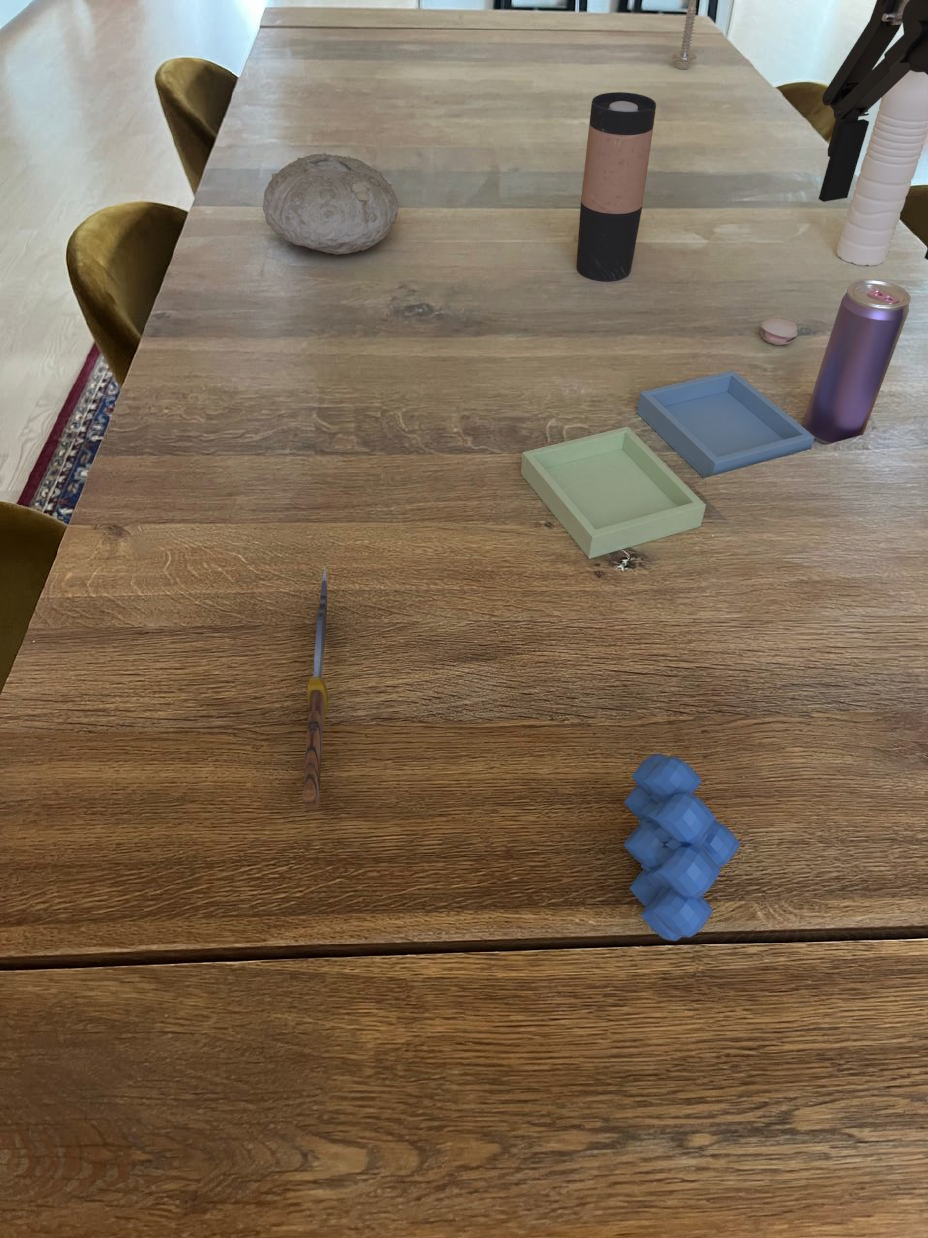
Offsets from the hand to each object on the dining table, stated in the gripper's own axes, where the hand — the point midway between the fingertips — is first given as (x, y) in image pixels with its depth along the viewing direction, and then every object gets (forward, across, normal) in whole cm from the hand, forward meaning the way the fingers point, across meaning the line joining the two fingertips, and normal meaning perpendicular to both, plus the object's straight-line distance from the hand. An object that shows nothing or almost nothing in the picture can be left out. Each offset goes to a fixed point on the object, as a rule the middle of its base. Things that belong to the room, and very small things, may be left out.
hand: (883, 226), depth 82 cm
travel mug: (+21, -41, -2) cm, 46 cm away
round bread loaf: (+21, -62, -32) cm, 73 cm away
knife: (+21, +15, -58) cm, 63 cm away
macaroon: (+21, -17, +8) cm, 28 cm away
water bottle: (+21, -31, +32) cm, 49 cm away
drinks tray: (+21, -3, -10) cm, 23 cm away
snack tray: (+21, +2, -26) cm, 33 cm away
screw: (+21, -116, +59) cm, 132 cm away
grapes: (+21, +39, -43) cm, 62 cm away
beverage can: (+21, +1, +1) cm, 21 cm away
